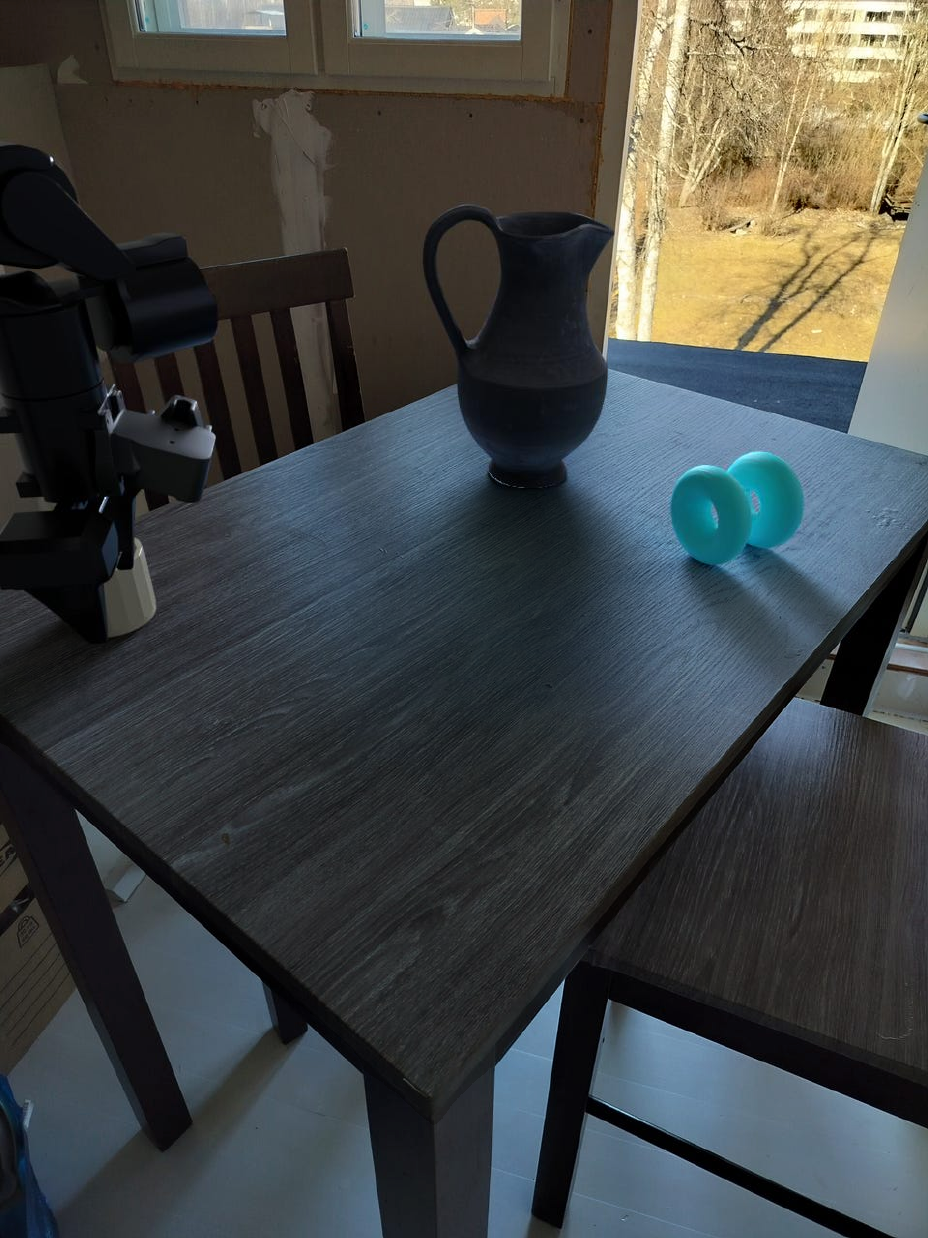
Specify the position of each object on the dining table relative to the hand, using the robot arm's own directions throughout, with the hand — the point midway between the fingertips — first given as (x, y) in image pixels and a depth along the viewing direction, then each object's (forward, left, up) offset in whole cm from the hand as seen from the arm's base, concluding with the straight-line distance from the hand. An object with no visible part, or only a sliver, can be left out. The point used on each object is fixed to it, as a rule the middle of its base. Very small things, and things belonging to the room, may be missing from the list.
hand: (113, 603), depth 59 cm
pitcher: (+36, +42, -12) cm, 57 cm away
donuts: (+55, +21, -12) cm, 60 cm away
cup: (-6, +17, -12) cm, 22 cm away
